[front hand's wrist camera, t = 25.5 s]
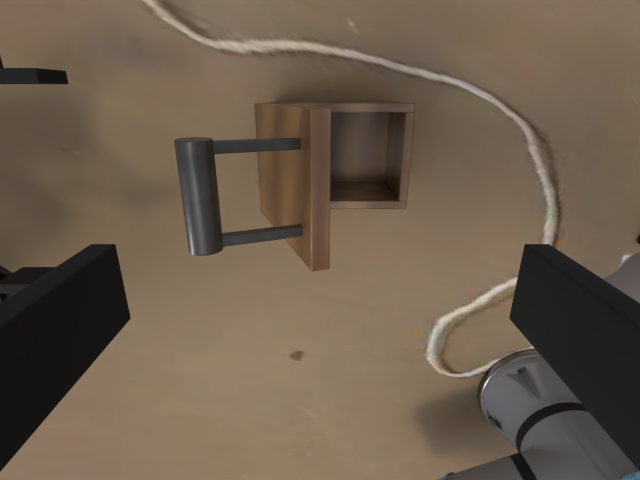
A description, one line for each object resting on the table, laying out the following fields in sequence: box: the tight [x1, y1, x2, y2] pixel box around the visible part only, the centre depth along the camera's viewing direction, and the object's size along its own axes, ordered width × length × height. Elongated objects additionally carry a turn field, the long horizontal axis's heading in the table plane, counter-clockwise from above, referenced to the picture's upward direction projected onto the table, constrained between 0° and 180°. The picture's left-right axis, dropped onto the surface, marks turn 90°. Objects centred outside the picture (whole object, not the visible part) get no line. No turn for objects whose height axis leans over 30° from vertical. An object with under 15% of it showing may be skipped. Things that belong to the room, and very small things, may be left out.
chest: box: [269, 102, 415, 209], centre depth 41 cm, size 14×10×10 cm
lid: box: [174, 103, 331, 272], centre depth 28 cm, size 15×10×9 cm
